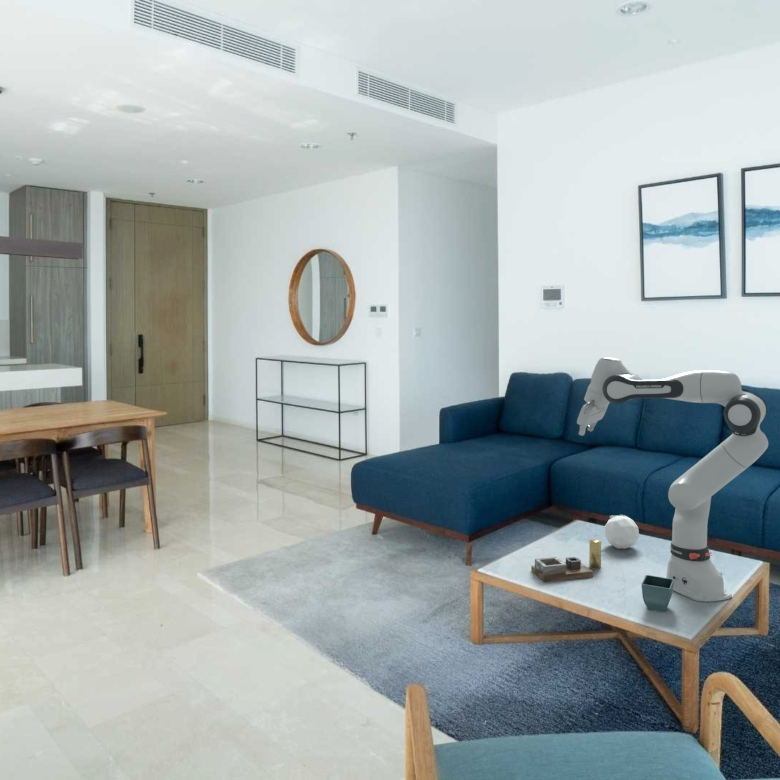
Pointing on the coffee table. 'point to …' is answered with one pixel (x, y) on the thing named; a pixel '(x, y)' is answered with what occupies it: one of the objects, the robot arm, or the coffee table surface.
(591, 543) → the brass cylinder rod
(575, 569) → the board
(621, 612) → the coffee table surface
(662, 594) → the flower pot
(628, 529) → the geodesic sphere
